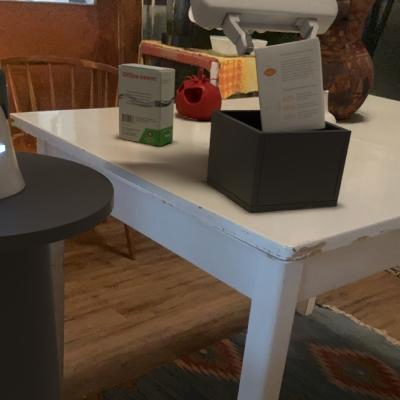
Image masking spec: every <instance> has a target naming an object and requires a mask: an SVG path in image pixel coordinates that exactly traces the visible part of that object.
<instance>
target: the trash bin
mask: <svg viewBox="0 0 400 400" xmlns="http://www.w3.org/2000/svg"><path fill="white" fill-rule="evenodd" d="M352 131H353V130H350V129H347V128H346V127H342V126H340V125H337V124H336V125H335V124H332V123H330V122H327V121H325V128H323V129H317V130H311V131H270V132H262V125H261V115H260V109H221V110H212V118H211V119H210V133H209V145H208V146H209V147H208V159H207V169H206V170H207V172H206V181H205V182H206V183H207V184H208V185H210V186H211V187H213V188H214V189H216V190H217V191H219V192H220V193H222V194H223V195H224V196H226V197H227V198H229V199H230V200H232V201H233V202H234V203H236V204H237V205H238V206H240V207H241V208H243V209H244V210H246V211H247V212H249V213H251V214H252V213H262V212H275V211H285V210H286V211H289V210H299V209H300V210H301V209H313V208H324V207H325V208H326V207H336V206H338V200H339V196H340V191H341V186H342V182H343V177H344V171H345V167H346V163H347V162H346V161H347V157H348V152H349V147H350V141H351V136H352Z"/></svg>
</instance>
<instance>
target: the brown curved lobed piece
mask: <svg viewBox="0 0 400 400" xmlns="http://www.w3.org/2000/svg"><path fill="white" fill-rule="evenodd" d="M336 2H337V6H338V13H337V16H336V18H335V20H334V21H333V23H332V24H331V26H330V27H329V28H328V29H327V31H326V32H325V33H324V34H317V35H316V37H318V39H319V43H320V51H321V65H322V80H323V91H326V90H327V91H329V92H328V112H329V113H331V114H332V115H333V116H334V117H335V120H339V119H342V120H343V119H346V118H349V117H350V116H352V115H353V114H355V113H356V112H357V111H358V110H359V109H360V108H361V107H362V106H363V104H364V103H365V101H366V100H367V99H368V96H369V95H370V92H371V91H372V88H373V85H374V81H375V80H374V79H375V69H374V63H373V60H372V58H371V55H370V53H369V51H368V49H367V47H366V45H365V44H364V43H365V42H363V39H362V32H363V28H364V24H365V21H366V19H367V17H368V14H369V13H370V11H371V10H372V8H373V6H374V5H375V3H376V2H377V0H336ZM305 39H306V37H305V38H302V36H301V34H299V36H298V37H297V38H296V39H295V40H294V42H296V41H302V40H305Z"/></svg>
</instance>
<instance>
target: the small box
mask: <svg viewBox="0 0 400 400" xmlns="http://www.w3.org/2000/svg"><path fill="white" fill-rule="evenodd" d="M295 41H296V40H295ZM295 41H291V42H284V43H279V44H273V45H266V46H258V47H254V49H253V51H254V62H255V71H256V82H257V94H258V103H259V110H260V115H261V125H262V132H270V131H311V130H317V129H323V128H325V112H324V95H323V80H322V65H321V51H320V43H319V39H318V37H315V38H310V39H307V40H302V41H296V42H295Z"/></svg>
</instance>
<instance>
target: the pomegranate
mask: <svg viewBox="0 0 400 400" xmlns="http://www.w3.org/2000/svg"><path fill="white" fill-rule="evenodd" d="M204 73H205V69H204V68H199V69H198V77H197V76H196V75H195V74H192V75H191V76H189V75H186V76H181V78H180V79H182V78H188V79H186V80H183V81H182V82H181V84H180V85H179V87H178V89H177V91H176V97H175V98H174V105H175V110H176V112H177V114H179V115H180V116H181V117H184V118H186V119H189V120H194V121H209V120H210V121H211V118H212V110H222V105H223V100H222V94H221V91H220V89H219V87H217V86H216V85H215V84H213V83H212V82H210V81H212V80H214V81H218V78H214V77H213V78H207V77H206V74H204Z"/></svg>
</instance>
